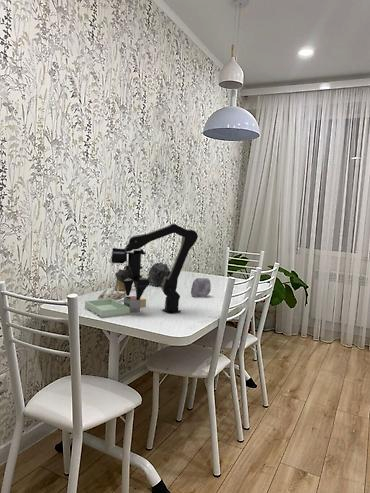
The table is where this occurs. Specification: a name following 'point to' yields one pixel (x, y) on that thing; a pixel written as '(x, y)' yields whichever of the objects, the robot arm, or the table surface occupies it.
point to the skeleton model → (112, 295)
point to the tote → (107, 308)
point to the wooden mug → (121, 285)
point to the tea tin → (132, 303)
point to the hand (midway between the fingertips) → (132, 297)
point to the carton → (143, 302)
